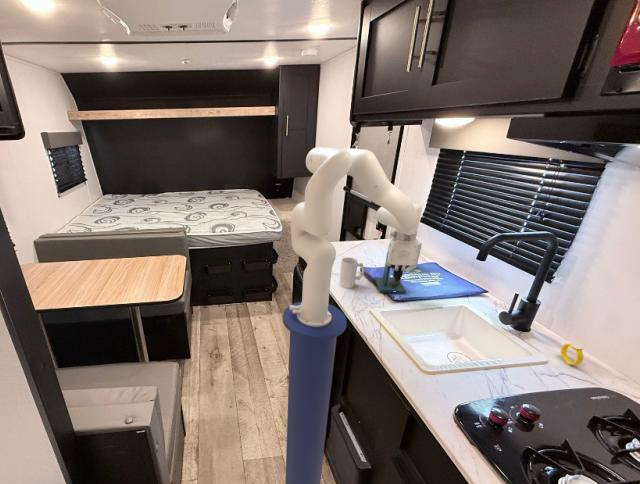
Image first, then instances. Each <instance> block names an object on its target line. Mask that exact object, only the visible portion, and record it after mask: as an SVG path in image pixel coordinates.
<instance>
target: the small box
mask: <svg viewBox="0 0 640 484" xmlns="http://www.w3.org/2000/svg"><path fill="white" fill-rule="evenodd" d="M422 244H423V242H420V241H418V253H417V261H416V264H415V266H412V267H408V268H406V269H405V270H404V271H403V272H406V273H409V272H411V271H413V270H414V269H416V268H417V267H418V263H419V259H420V255H421V254H420V253H421V249H422V246H423V245H422Z"/></svg>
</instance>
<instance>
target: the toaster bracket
mask: <svg viewBox="0 0 640 484" xmlns="http://www.w3.org/2000/svg"><path fill="white" fill-rule="evenodd" d="M386 260H387V259H386V258H385V261H386ZM399 267H400V265H398V268H399ZM390 270H391V268H390V266H387V265H386V264H385V263H384V269H383V273H382V274H383V275H382V276H374V278H373V280H374V282H375V285H376V288H377V289H378V292H379V293H380V294H394V295H395V294H396V295H406V289H405V288H404V285H403V284H402V282H401V281H400V285H398V286H394V285H393V284H392V280H393V279H394V278H393V277H390V272H391V271H390ZM393 291H396V292H393Z"/></svg>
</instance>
